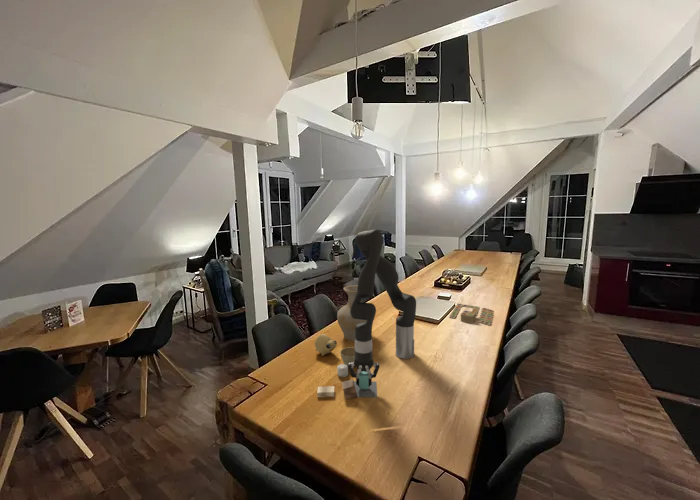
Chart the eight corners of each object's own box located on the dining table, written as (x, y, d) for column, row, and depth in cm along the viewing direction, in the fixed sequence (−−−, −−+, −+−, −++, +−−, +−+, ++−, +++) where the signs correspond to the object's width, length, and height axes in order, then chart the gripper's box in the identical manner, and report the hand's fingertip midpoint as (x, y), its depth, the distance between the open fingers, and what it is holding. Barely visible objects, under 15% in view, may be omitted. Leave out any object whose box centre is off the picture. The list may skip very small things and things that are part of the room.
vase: (331, 340, 176) (330, 291, 171) (345, 326, 196) (344, 282, 191) (366, 346, 167) (366, 295, 163) (377, 331, 187) (377, 285, 183)
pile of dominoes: (491, 327, 192) (491, 319, 191) (447, 320, 205) (448, 312, 204) (495, 310, 222) (495, 303, 221) (457, 304, 235) (457, 298, 234)
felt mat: (376, 382, 134) (376, 381, 134) (377, 398, 123) (377, 397, 123) (352, 382, 135) (352, 381, 135) (350, 398, 124) (350, 396, 124)
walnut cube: (355, 389, 128) (353, 379, 127) (357, 396, 123) (354, 385, 122) (344, 392, 127) (341, 382, 127) (345, 400, 122) (342, 389, 122)
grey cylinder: (343, 371, 144) (343, 363, 143) (350, 374, 140) (349, 366, 140) (335, 375, 141) (334, 367, 140) (342, 378, 137) (341, 370, 136)
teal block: (368, 383, 130) (368, 370, 130) (368, 389, 127) (368, 376, 126) (359, 383, 131) (359, 370, 130) (359, 388, 127) (359, 375, 126)
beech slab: (334, 392, 128) (334, 386, 128) (334, 398, 124) (334, 392, 124) (318, 393, 128) (318, 386, 127) (317, 399, 124) (317, 392, 124)
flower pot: (363, 361, 152) (362, 348, 151) (357, 372, 143) (356, 358, 142) (344, 358, 155) (344, 345, 154) (337, 368, 146) (337, 355, 145)
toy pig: (327, 361, 153) (326, 341, 152) (311, 353, 161) (310, 335, 159) (340, 353, 161) (339, 335, 159) (324, 346, 168) (324, 329, 167)
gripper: (380, 344, 129) (380, 380, 132) (347, 343, 130) (348, 380, 133) (380, 352, 122) (380, 391, 124) (346, 352, 123) (346, 390, 125)
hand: (363, 385), depth 129 cm, fingers closed on teal block, 4 cm apart
